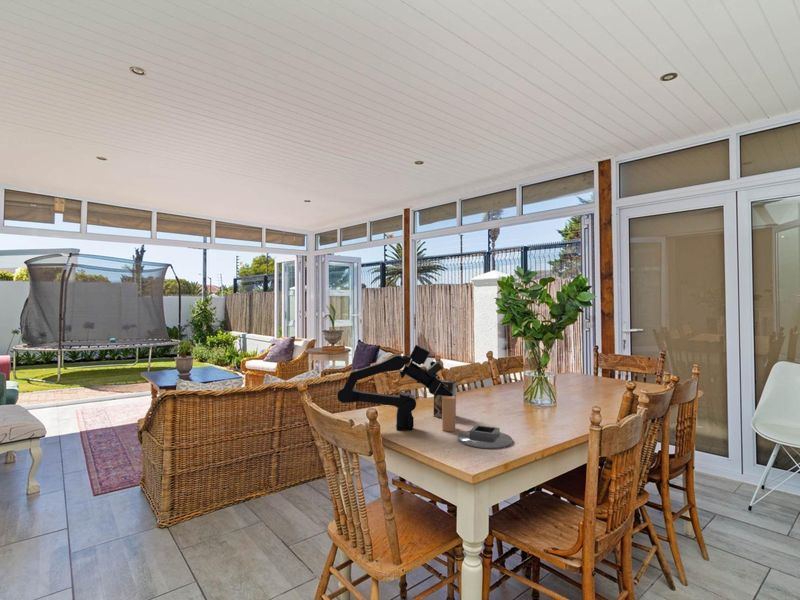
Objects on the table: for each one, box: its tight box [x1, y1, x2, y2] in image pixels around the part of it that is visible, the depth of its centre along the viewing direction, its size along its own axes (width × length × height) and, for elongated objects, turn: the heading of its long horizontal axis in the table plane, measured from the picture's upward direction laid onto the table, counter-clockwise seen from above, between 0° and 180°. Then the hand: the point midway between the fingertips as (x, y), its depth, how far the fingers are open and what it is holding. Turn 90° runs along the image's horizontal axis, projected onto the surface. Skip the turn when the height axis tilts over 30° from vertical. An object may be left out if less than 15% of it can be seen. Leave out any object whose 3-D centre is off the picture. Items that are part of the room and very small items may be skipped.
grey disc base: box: [457, 424, 513, 450], centre depth 162 cm, size 20×20×4 cm
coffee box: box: [433, 379, 457, 418], centre depth 197 cm, size 9×6×16 cm
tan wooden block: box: [441, 396, 456, 432], centre depth 176 cm, size 5×5×13 cm
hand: (451, 393), depth 177 cm, fingers open, 9 cm apart
